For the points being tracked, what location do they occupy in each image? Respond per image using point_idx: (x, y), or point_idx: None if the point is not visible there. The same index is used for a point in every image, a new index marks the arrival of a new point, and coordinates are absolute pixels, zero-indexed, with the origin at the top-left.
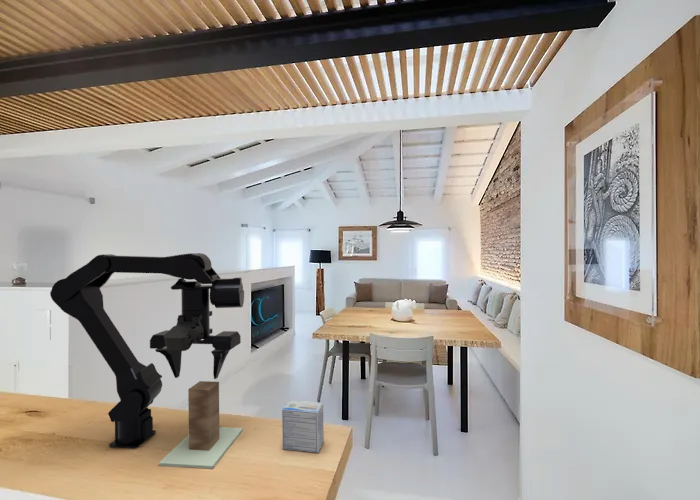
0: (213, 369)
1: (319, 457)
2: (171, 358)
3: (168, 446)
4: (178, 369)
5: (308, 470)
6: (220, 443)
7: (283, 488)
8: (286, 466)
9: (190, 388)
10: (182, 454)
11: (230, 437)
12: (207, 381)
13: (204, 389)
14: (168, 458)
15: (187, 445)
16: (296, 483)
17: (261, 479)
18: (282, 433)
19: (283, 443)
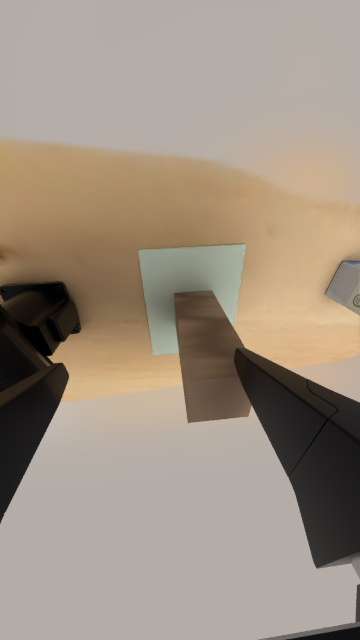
0: (251, 403)
1: None
2: (7, 501)
3: (129, 315)
4: (48, 394)
5: (353, 329)
6: (219, 302)
7: (319, 357)
8: (326, 327)
9: (191, 419)
10: (173, 335)
11: (231, 283)
12: (217, 378)
13: (234, 415)
14: (159, 345)
15: (165, 315)
16: (334, 349)
17: (294, 351)
18: (345, 306)
19: (333, 299)
